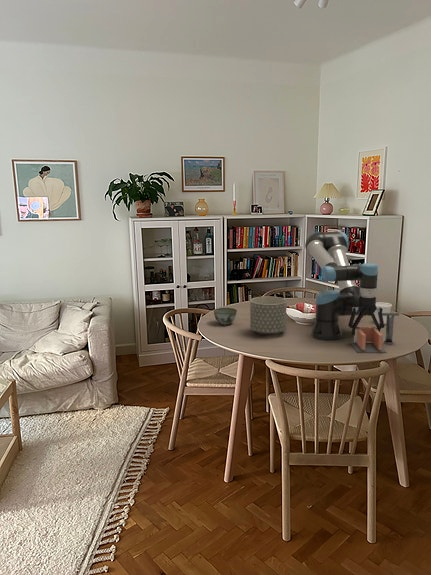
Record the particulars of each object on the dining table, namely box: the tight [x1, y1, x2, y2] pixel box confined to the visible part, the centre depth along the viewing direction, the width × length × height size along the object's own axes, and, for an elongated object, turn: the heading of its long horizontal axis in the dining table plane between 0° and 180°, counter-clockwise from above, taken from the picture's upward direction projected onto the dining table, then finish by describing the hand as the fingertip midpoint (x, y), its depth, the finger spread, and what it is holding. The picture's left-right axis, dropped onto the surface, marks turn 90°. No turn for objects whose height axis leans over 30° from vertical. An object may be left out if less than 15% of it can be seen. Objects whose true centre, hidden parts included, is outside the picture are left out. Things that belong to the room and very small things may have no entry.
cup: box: [374, 302, 393, 325], centre depth 238 cm, size 10×10×11 cm
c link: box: [356, 326, 384, 350], centre depth 198 cm, size 9×13×7 cm
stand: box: [382, 312, 400, 345], centre depth 204 cm, size 8×4×15 cm, turn 86°
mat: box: [350, 341, 387, 354], centre depth 199 cm, size 13×13×1 cm
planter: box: [249, 295, 288, 336], centre depth 223 cm, size 19×19×18 cm
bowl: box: [213, 307, 238, 326], centre depth 244 cm, size 14×13×8 cm
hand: (365, 341), depth 203 cm, fingers closed on c link, 9 cm apart
